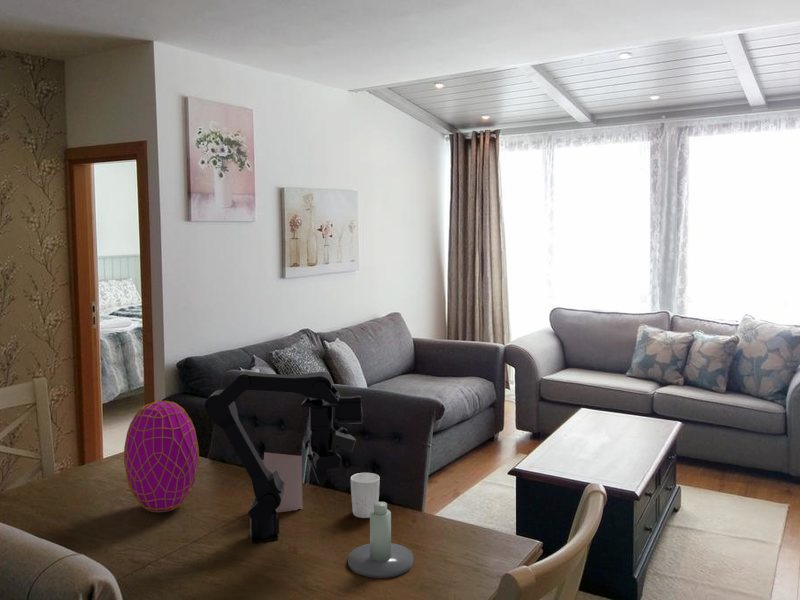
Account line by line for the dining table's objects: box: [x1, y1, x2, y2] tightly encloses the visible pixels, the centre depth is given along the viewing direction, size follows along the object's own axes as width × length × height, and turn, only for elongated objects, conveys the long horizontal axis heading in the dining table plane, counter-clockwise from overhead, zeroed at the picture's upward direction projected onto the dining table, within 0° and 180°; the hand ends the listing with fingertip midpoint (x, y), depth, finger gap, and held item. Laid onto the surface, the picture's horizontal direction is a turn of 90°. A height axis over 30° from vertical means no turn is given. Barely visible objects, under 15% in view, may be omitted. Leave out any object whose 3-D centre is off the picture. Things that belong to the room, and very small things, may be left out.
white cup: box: [350, 472, 381, 519], centre depth 182 cm, size 8×8×10 cm
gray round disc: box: [347, 542, 414, 579], centre depth 155 cm, size 15×15×1 cm
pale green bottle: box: [369, 501, 392, 562], centre depth 154 cm, size 5×5×12 cm
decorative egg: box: [123, 400, 200, 513], centre depth 184 cm, size 19×19×30 cm
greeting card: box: [261, 452, 303, 513], centre depth 184 cm, size 11×7×15 cm, turn 74°
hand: (321, 485), depth 168 cm, fingers closed
